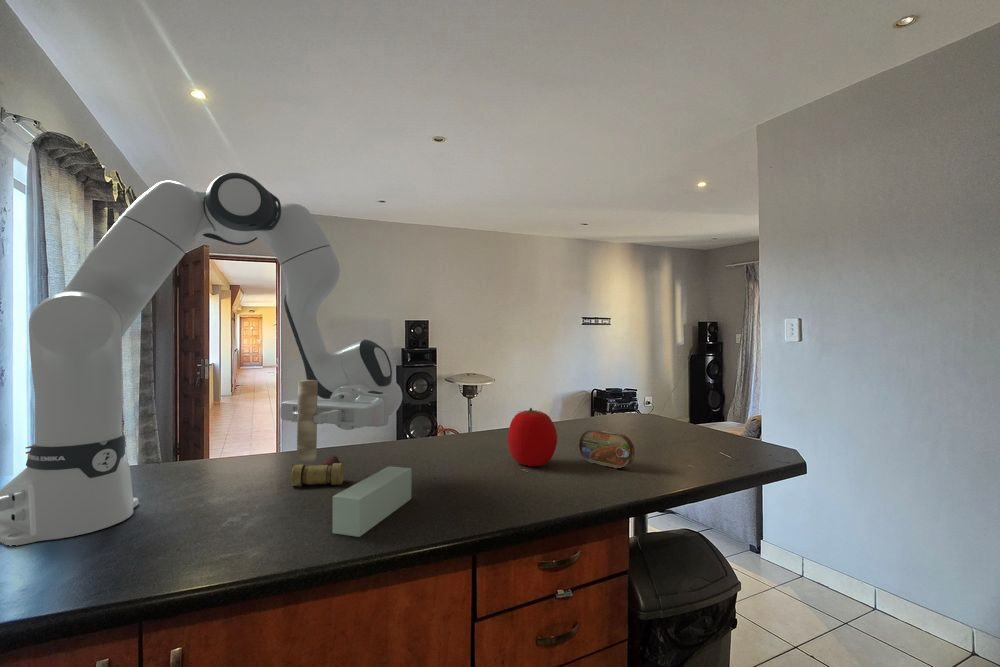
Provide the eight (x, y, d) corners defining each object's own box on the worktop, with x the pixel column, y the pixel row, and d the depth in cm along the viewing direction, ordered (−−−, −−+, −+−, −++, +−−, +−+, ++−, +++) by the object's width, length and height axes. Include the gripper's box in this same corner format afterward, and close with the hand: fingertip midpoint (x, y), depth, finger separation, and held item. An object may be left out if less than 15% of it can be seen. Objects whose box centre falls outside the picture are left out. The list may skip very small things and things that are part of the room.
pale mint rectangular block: (332, 533, 76) (332, 496, 76) (388, 496, 93) (388, 466, 93) (359, 537, 74) (359, 499, 74) (411, 498, 92) (411, 468, 92)
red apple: (498, 466, 115) (498, 408, 115) (519, 455, 125) (519, 402, 125) (545, 473, 109) (546, 413, 109) (563, 462, 119) (563, 406, 119)
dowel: (292, 461, 82) (294, 381, 82) (305, 456, 85) (306, 379, 85) (308, 462, 81) (309, 381, 81) (320, 458, 84) (321, 380, 84)
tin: (578, 460, 121) (578, 427, 121) (585, 458, 123) (585, 426, 123) (629, 473, 110) (629, 437, 110) (636, 470, 112) (636, 435, 112)
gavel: (315, 449, 119) (355, 448, 120) (314, 467, 118) (355, 466, 120) (291, 467, 98) (340, 465, 99) (290, 489, 98) (340, 487, 99)
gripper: (308, 389, 98) (257, 397, 85) (395, 393, 93) (355, 403, 79) (308, 419, 98) (257, 432, 85) (395, 425, 93) (354, 440, 79)
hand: (305, 418), depth 82 cm, fingers closed on dowel, 3 cm apart
